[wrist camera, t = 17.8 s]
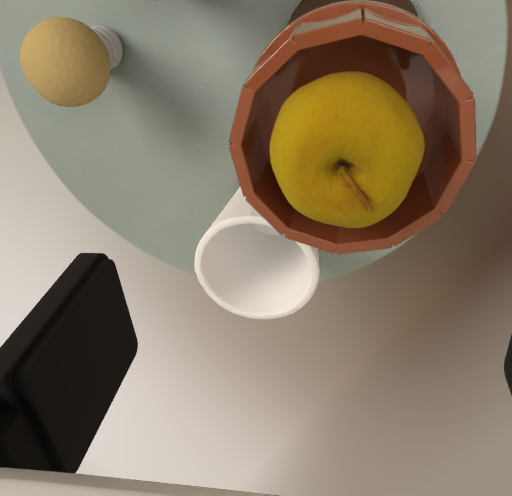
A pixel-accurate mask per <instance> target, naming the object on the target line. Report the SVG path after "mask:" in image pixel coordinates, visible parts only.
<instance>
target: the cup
mask: <svg viewBox="0 0 512 496" xmlns="http://www.w3.org/2000/svg"><path fill="white" fill-rule="evenodd" d="M195 272H196V274H197V277H198V279H199V282H200V283H201V285H202V286H203V288H204V290H205V291H206V293H207V294H208V295H209V296H210V297H211V298H212V299H213V300H214V301H215V302H216V303H218V304H219V305H220V306H222V307H223V308H225V309H226V310H228V311H229V312H231V313H234V314H237V315H241V316H243V317H248V318H255V319H276V318H280V317H284V316H288V315H291V314H293V313H294V312H296V311H297V310H299V309H300V308H302V307H303V306H304V305H305V304H306V303H307V302H308V301H309V300H310V299H311V297H312V295H313V293H314V291H315V289H316V287H317V284H318V279H319V274H320V269H319V253H318V248H314V247H311V246H308V245H305V244H302V243H299V242H296V241H293V240H290V239H287V238H285V234H284V235H280V234H279V233H278V232H277V231H276V230H275V229H274V228H273V227H272V226H271V225H270V224H269V223H268V222H267V221H266V220H265V219H264V218H263V217H262V216H261V215H260V214H259V213H258V212H257V211H256V210H255V209H254V208H253V207H252V206H251V205H250V204H249V203H248V202H247V201H246V197H244V196H243V194H242V190H241V187H239V189H238V190H237V191H236V193H235V194H234V195H233V197H232V198H231V199H230V201H229V202H228V204H227V205H226V206H225V208H224V209H223V210H222V212H221V213H220V214H219V216H218V217H217V218H216V220H215V221H214V223H213V224H212V225H211V227H210V228H209V229H208V231H207V232H206V233H205V235H204V236H203V238H202V239H201V241H200V242H199V243H198V247H197V250H196V254H195Z"/></svg>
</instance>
